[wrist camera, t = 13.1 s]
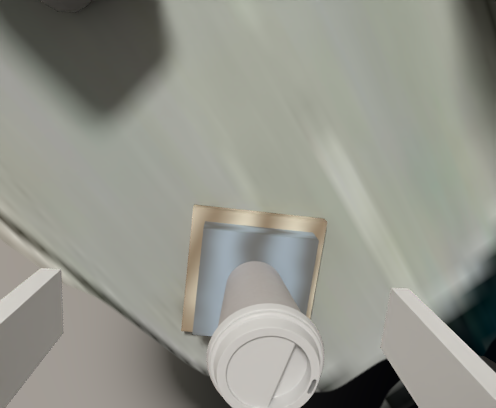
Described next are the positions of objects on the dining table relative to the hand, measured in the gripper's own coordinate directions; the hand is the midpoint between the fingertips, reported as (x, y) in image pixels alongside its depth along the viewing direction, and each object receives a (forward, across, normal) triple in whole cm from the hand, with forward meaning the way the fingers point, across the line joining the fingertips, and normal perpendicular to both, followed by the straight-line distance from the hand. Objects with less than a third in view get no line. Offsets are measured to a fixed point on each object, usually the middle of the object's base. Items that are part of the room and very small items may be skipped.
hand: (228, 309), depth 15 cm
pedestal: (+30, +4, -12) cm, 33 cm away
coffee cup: (+26, +4, -11) cm, 29 cm away
